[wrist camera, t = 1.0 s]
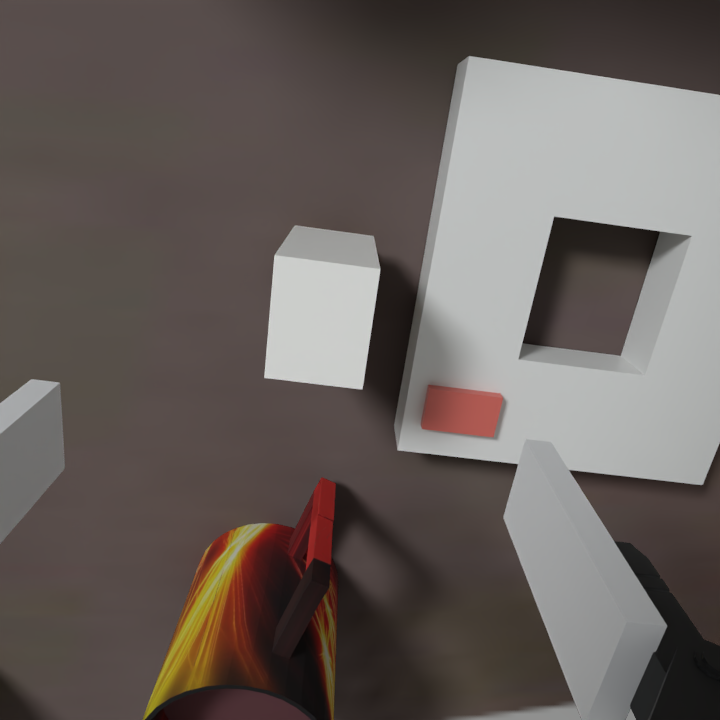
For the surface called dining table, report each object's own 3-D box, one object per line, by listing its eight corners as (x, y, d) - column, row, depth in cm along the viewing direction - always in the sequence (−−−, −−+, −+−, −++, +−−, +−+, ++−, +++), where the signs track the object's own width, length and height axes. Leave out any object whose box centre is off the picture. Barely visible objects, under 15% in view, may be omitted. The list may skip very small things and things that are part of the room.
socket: (457, 64, 28) (471, 54, 25) (804, 118, 29) (863, 115, 26) (394, 425, 35) (398, 455, 32) (675, 458, 36) (708, 490, 33)
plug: (298, 220, 31) (274, 255, 21) (372, 230, 31) (380, 269, 22) (289, 309, 33) (264, 377, 23) (359, 318, 33) (362, 389, 23)
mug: (336, 466, 36) (328, 612, 25) (340, 633, 41) (335, 818, 30) (182, 468, 36) (106, 615, 25) (205, 635, 41) (149, 821, 30)
